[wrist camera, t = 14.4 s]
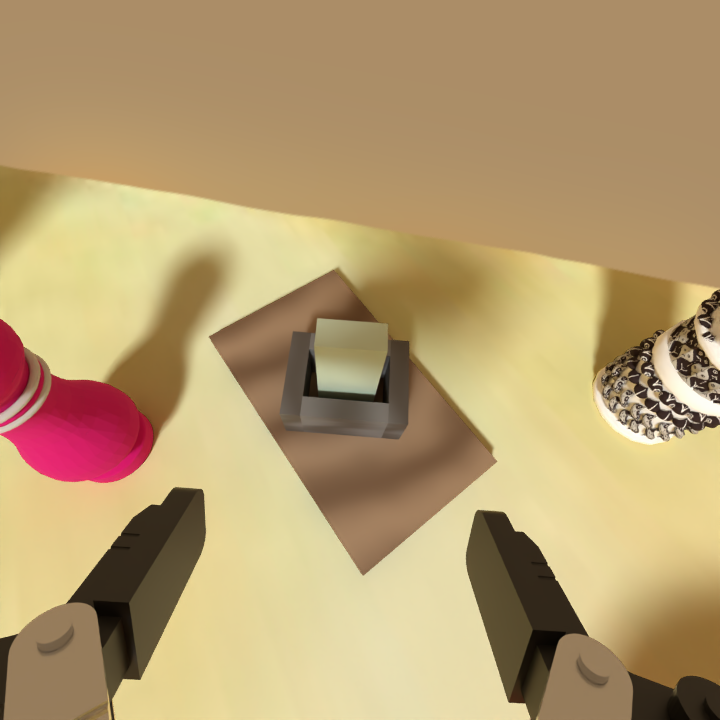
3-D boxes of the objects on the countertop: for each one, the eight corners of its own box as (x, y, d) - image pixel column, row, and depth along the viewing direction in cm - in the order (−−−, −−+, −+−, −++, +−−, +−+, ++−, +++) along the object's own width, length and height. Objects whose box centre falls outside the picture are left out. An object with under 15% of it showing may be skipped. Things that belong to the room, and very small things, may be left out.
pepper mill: (164, 473, 31) (-60, 378, 13) (67, 501, 30) (-326, 436, 12) (156, 394, 34) (-38, 227, 16) (67, 416, 33) (-251, 261, 15)
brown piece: (361, 574, 29) (368, 580, 24) (213, 344, 37) (192, 309, 31) (490, 464, 33) (521, 449, 28) (333, 279, 41) (334, 238, 36)
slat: (319, 405, 33) (314, 346, 23) (321, 384, 34) (317, 318, 24) (371, 409, 33) (387, 351, 24) (371, 387, 34) (388, 323, 24)
